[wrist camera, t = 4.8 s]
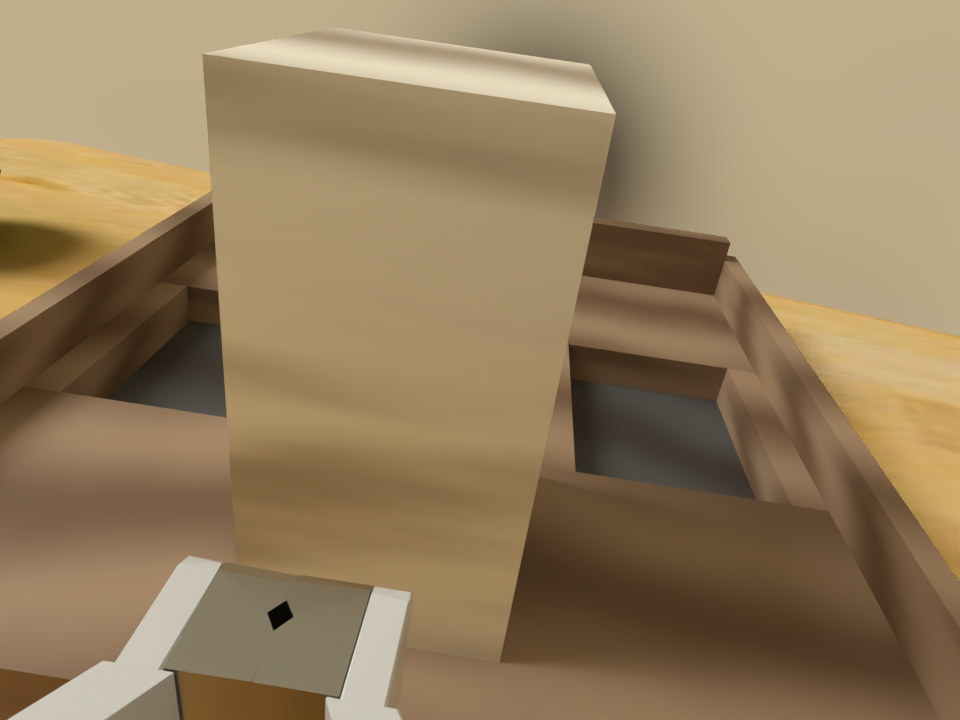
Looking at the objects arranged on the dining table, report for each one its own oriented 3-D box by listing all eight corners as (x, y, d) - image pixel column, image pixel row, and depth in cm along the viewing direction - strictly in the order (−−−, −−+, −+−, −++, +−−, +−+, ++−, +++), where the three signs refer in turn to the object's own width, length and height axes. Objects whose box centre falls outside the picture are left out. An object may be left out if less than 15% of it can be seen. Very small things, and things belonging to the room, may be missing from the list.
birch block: (499, 662, 16) (615, 114, 10) (240, 621, 16) (202, 53, 10) (513, 471, 22) (590, 64, 16) (326, 442, 22) (335, 27, 16)
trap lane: (990, 886, 15) (1126, 747, 12) (-283, 678, 15) (-394, 504, 13) (713, 322, 39) (740, 239, 37) (231, 249, 40) (227, 162, 37)
